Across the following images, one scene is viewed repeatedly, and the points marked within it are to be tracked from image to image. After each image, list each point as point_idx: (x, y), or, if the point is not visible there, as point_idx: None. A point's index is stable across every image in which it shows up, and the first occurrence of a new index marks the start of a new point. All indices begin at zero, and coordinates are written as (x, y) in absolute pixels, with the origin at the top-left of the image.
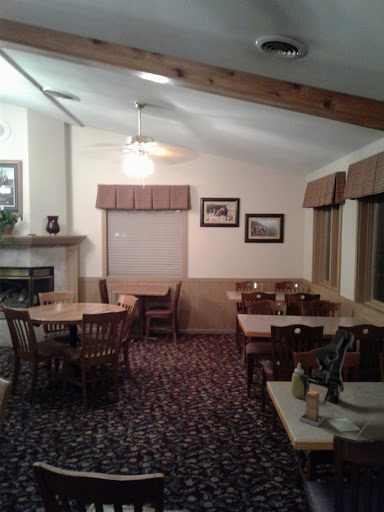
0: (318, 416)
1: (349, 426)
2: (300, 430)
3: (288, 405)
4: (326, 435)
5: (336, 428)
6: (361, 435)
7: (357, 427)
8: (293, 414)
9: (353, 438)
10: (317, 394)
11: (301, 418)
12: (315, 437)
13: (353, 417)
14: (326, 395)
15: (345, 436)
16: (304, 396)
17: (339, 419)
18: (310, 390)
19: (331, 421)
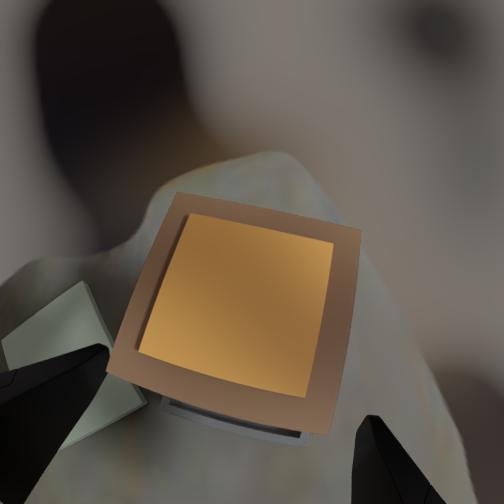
0: (204, 414)
1: (33, 352)
2: None
3: None
4: (155, 227)
5: (94, 307)
6: (11, 302)
7: (6, 352)
8: (384, 400)
9: (43, 259)
10: (146, 260)
11: None
12: (210, 186)
13: (31, 491)
14: (29, 379)
15: (69, 261)
16: (375, 416)
17: (74, 429)
18: (317, 419)
19: (116, 385)
